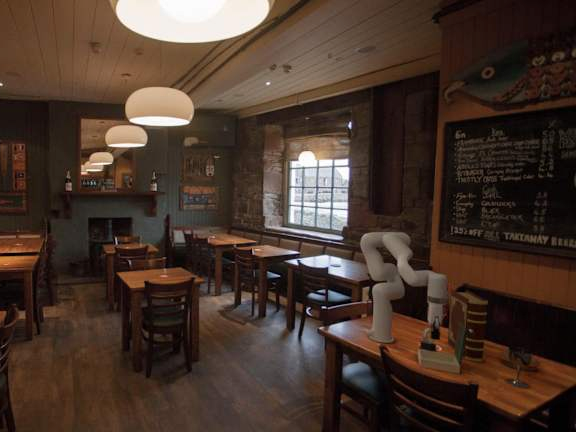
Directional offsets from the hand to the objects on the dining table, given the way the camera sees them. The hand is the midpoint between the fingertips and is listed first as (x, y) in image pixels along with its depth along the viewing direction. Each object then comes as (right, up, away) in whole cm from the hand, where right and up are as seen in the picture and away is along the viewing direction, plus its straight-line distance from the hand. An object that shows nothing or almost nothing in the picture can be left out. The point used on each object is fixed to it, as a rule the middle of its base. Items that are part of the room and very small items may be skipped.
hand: (434, 337), depth 186 cm
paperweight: (0, 0, 0) cm, 0 cm away
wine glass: (+25, -15, -17) cm, 34 cm away
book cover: (+9, -1, -4) cm, 10 cm away
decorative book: (+25, -13, +15) cm, 32 cm away
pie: (+40, -14, 0) cm, 42 cm away
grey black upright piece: (+8, -12, +18) cm, 23 cm away
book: (+2, -13, 0) cm, 13 cm away
